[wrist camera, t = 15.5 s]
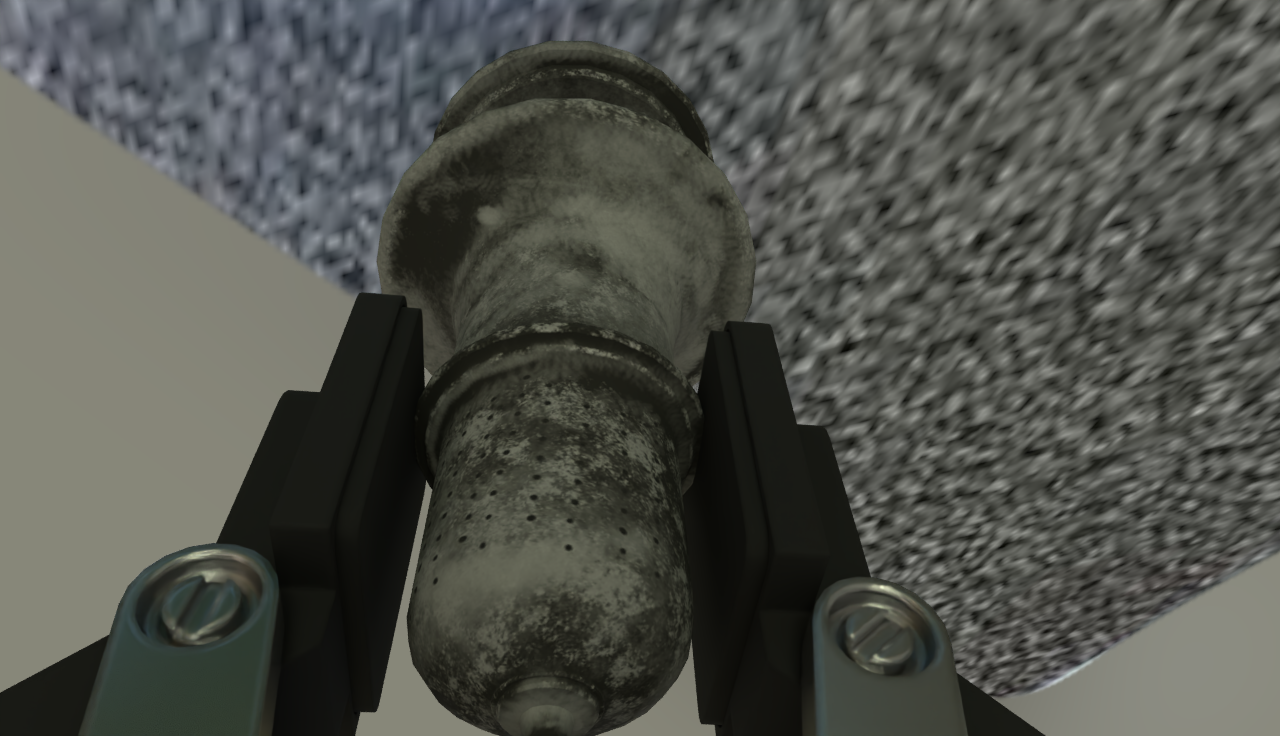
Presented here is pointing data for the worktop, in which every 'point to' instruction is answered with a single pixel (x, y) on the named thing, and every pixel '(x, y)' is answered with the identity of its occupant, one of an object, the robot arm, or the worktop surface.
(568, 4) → the worktop surface
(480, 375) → the dark grey rounded piece
